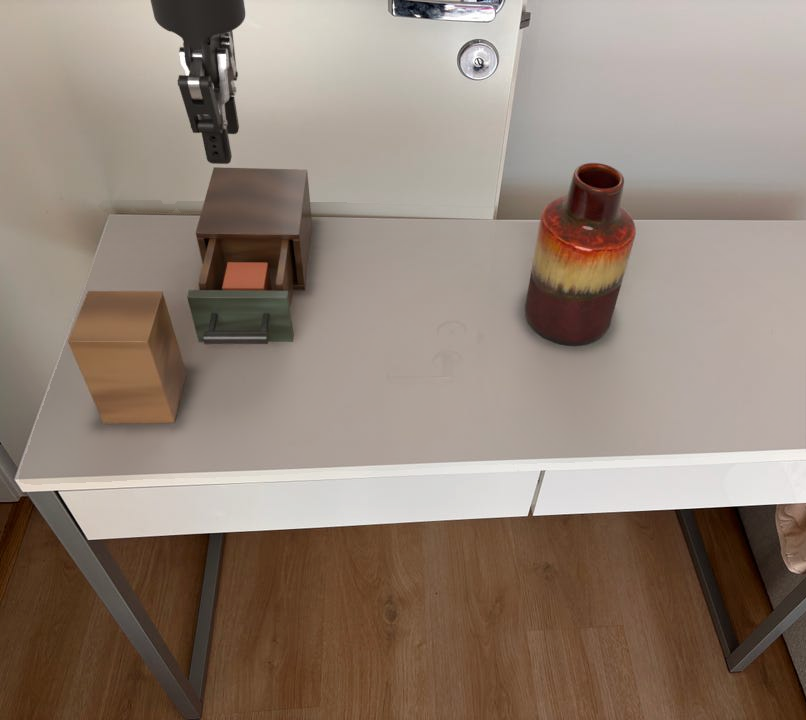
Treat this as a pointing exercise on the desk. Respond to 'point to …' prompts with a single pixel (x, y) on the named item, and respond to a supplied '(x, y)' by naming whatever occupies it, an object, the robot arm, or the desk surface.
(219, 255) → the drawer
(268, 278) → the block
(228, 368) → the desk surface
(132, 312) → the stand
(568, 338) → the vase
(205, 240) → the cabinet
